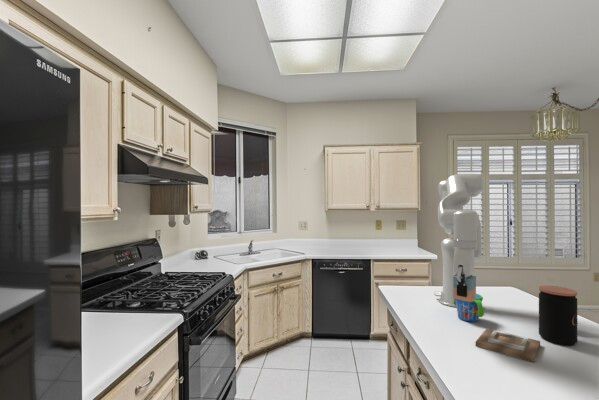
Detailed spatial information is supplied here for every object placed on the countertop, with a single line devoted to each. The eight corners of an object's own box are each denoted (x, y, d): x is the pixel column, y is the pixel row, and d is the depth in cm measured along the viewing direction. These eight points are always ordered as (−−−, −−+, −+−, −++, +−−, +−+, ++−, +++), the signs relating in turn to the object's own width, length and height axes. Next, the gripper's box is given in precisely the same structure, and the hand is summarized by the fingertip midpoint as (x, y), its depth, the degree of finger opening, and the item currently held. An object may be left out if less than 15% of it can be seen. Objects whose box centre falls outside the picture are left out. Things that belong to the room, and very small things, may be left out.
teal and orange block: (453, 298, 114) (453, 276, 114) (458, 294, 119) (458, 273, 119) (471, 302, 110) (471, 279, 110) (475, 298, 115) (476, 276, 114)
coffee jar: (580, 349, 104) (580, 295, 104) (540, 341, 110) (540, 290, 110) (574, 338, 113) (574, 288, 113) (537, 331, 119) (537, 283, 119)
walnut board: (475, 346, 106) (475, 338, 106) (486, 332, 118) (486, 325, 118) (534, 362, 95) (534, 354, 95) (540, 345, 107) (540, 338, 107)
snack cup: (446, 312, 139) (446, 289, 139) (469, 312, 139) (469, 289, 139) (466, 326, 123) (466, 300, 123) (492, 326, 124) (492, 300, 124)
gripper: (460, 241, 123) (460, 287, 123) (446, 246, 110) (445, 297, 111) (482, 243, 118) (482, 291, 118) (469, 248, 105) (469, 302, 105)
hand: (464, 293), depth 114 cm, fingers closed on teal and orange block, 6 cm apart
